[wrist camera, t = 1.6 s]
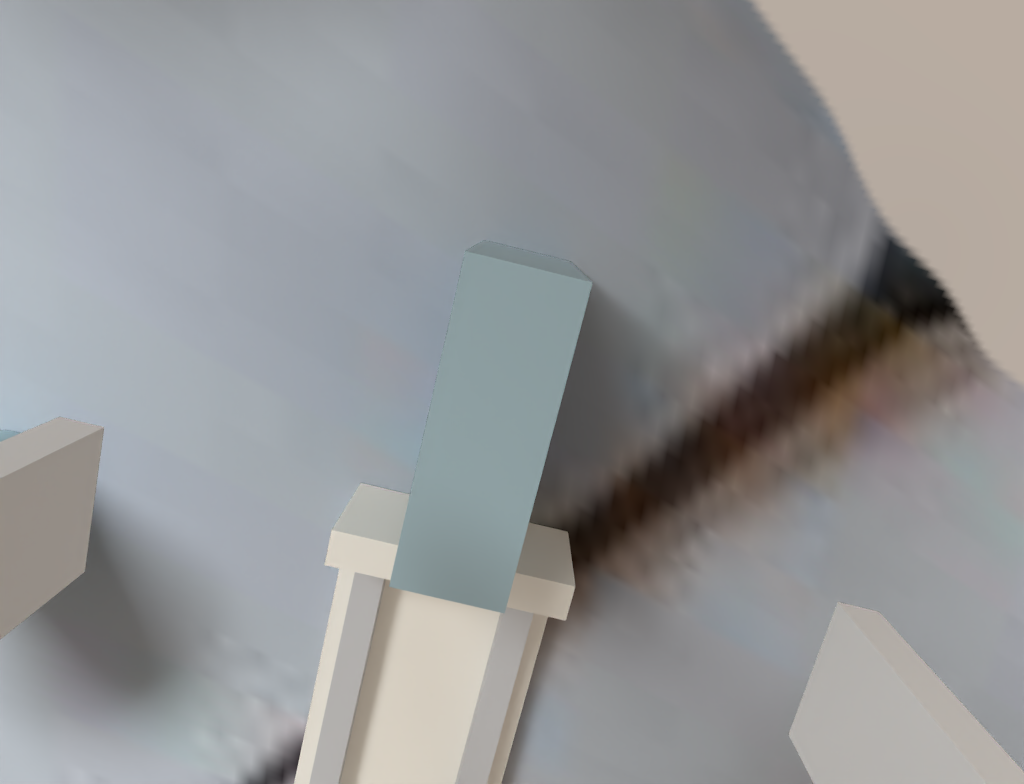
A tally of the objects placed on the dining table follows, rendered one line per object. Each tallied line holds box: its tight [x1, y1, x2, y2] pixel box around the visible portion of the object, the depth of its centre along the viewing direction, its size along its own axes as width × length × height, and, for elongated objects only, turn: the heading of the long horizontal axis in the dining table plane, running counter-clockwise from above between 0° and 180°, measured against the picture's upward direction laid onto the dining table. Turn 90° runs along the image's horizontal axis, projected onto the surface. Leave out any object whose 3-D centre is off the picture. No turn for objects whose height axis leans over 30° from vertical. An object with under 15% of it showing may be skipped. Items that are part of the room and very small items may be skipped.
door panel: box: [389, 240, 593, 613], centre depth 26 cm, size 10×4×10 cm, turn 166°
